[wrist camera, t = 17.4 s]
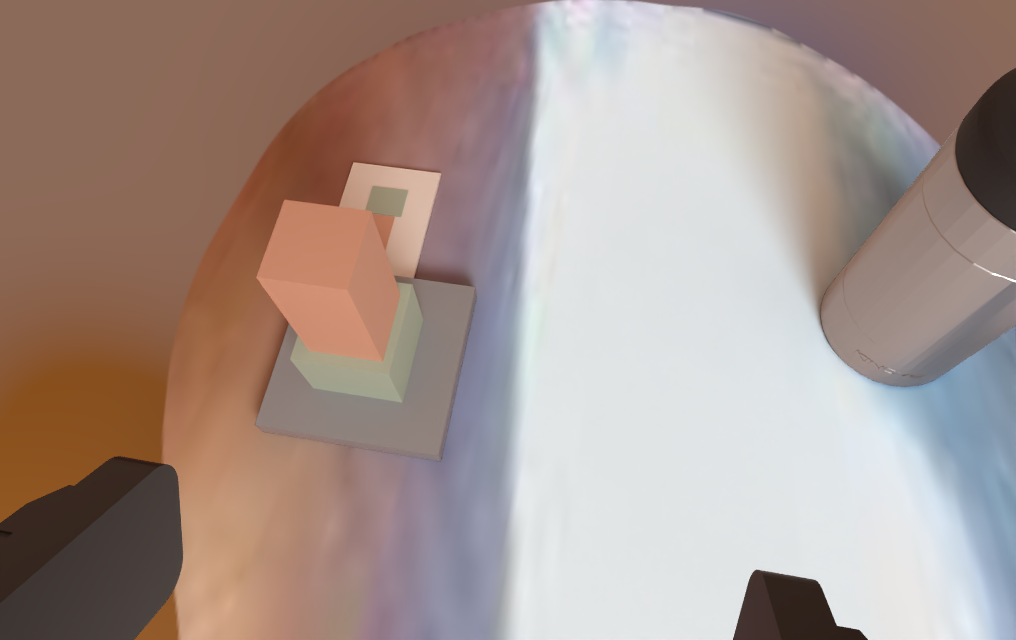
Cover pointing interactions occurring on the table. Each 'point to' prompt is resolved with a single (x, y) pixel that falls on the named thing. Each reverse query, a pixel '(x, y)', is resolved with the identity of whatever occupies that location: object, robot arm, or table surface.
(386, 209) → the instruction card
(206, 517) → the table surface
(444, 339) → the base plate
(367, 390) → the sage brick
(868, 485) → the table surface
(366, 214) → the terracotta brick
